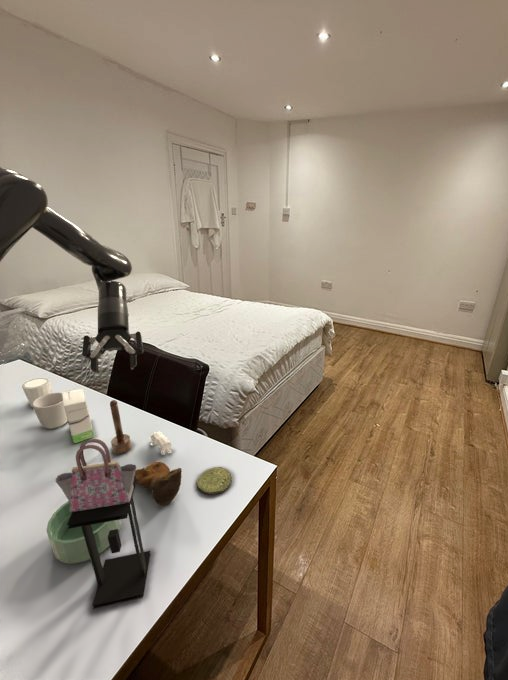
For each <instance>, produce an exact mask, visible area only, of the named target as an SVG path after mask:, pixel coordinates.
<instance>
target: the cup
mask: <svg viewBox="0 0 508 680" xmlns="http://www.w3.org/2000/svg"><path fill="white" fill-rule="evenodd" d="M62 393H63V392H51V393H50V394H46V395H43V396H41V397H39V398H37V399H36V400H35V401H34V402H33V403H32V406H31V407H32V409H33V411H34V413H35V415H36V417H37V419H38V421H39V424H40V425H41V426H42V427H43V428H45V429H50V430H51V429H57V428H59V427H62V426H64V425H65V424H66V423H68V421H67V417H66V413H65V409H64V406H63V397H62Z"/></svg>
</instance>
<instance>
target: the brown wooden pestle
mask: <svg viewBox="0 0 508 680" xmlns="http://www.w3.org/2000/svg"><path fill="white" fill-rule="evenodd" d="M109 406H110V411H111V417H112V422H113V426H114V432H115V436H114V437H113V438H112V439H111V441H110V445H111V449H112V453H113V454H114V455H118V456H119V455H124V454H126V453H128V452H130V451H131V449H132V439H131V436H130V435H129V434H126V433H124V432H123V427H122V426H123V425H122V420H121V416H120V411H119V405H118V401H117V400H115V399H112V400H111V401H109Z"/></svg>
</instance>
